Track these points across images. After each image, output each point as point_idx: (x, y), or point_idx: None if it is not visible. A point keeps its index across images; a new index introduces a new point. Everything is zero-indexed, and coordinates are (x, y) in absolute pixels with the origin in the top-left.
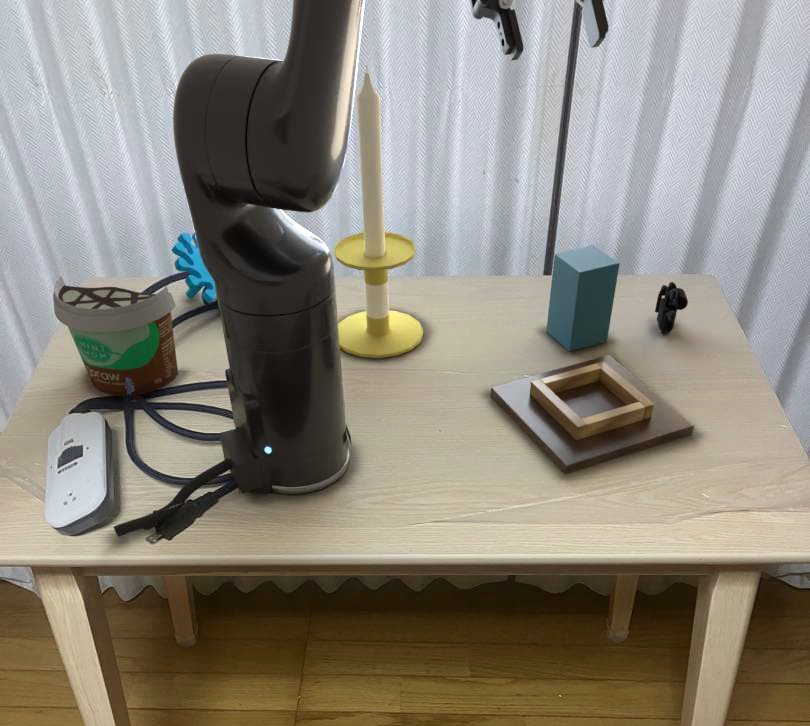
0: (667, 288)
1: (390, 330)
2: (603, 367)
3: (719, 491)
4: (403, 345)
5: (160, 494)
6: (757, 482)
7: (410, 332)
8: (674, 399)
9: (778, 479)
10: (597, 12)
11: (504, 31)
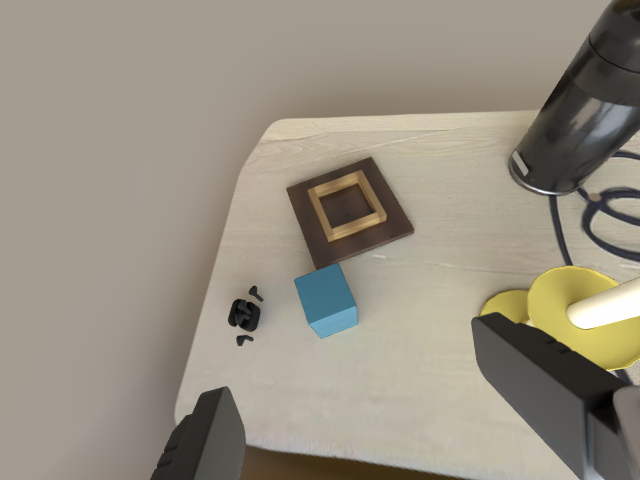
0: (243, 315)
1: None
2: (329, 229)
3: (292, 151)
4: (496, 303)
5: (629, 144)
6: (270, 157)
7: None
8: (284, 225)
9: (258, 159)
10: (190, 449)
11: (569, 354)
